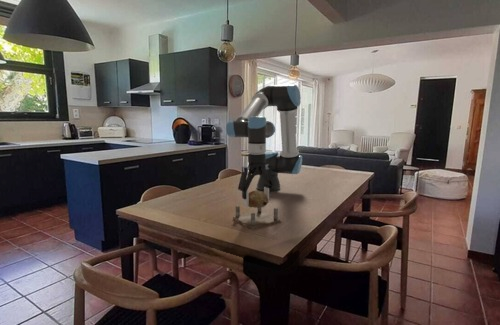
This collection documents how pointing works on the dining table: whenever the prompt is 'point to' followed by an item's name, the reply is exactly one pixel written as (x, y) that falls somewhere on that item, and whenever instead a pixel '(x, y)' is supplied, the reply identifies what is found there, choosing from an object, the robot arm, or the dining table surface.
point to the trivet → (256, 218)
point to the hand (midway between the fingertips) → (256, 203)
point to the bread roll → (257, 199)
